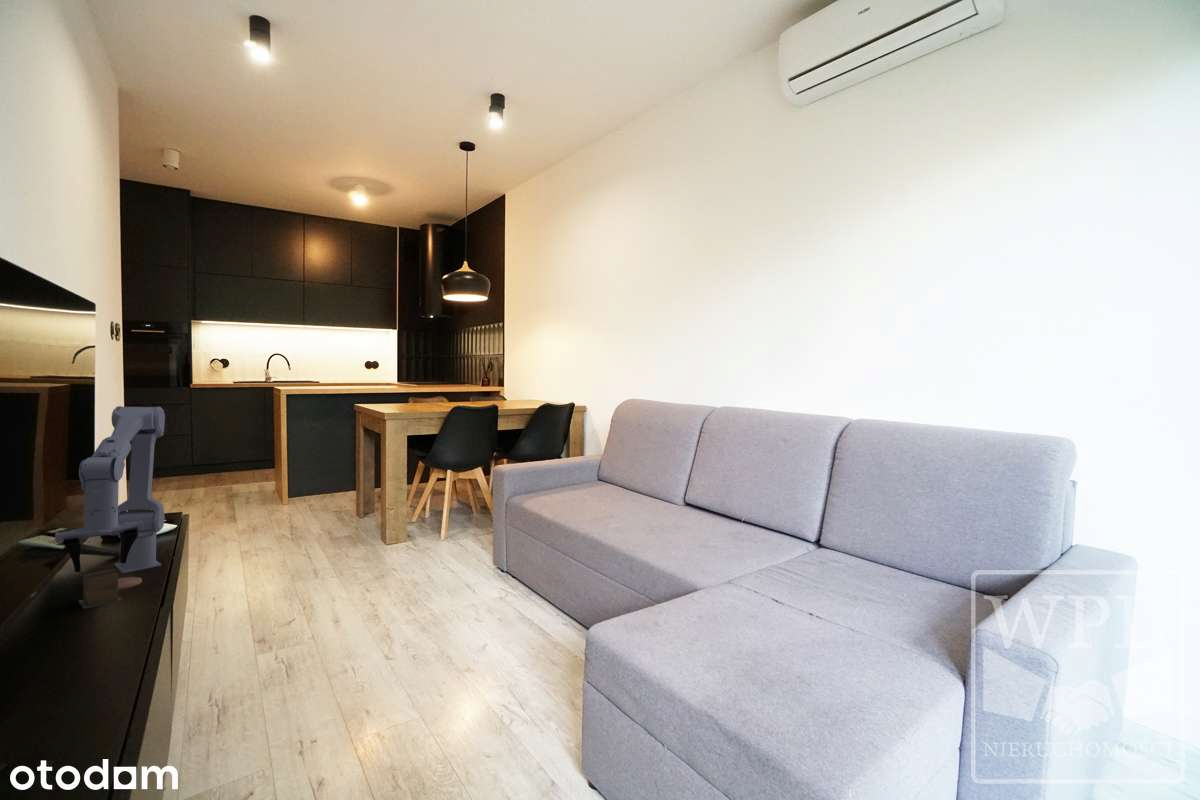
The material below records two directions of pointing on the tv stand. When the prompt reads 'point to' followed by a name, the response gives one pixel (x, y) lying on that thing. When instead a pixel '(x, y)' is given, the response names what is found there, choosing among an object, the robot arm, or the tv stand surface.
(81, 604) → the board
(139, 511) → the robot arm
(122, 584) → the coaster
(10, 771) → the tv stand surface
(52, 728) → the tv stand surface
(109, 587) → the walnut block
